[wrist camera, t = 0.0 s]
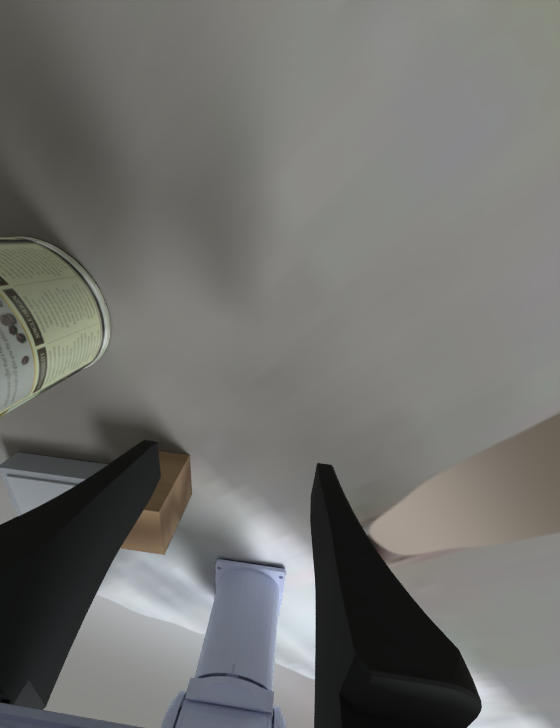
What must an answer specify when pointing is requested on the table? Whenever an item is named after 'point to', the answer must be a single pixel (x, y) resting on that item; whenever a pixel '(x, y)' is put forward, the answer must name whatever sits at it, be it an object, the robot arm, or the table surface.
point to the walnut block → (163, 506)
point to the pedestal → (42, 478)
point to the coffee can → (45, 319)
